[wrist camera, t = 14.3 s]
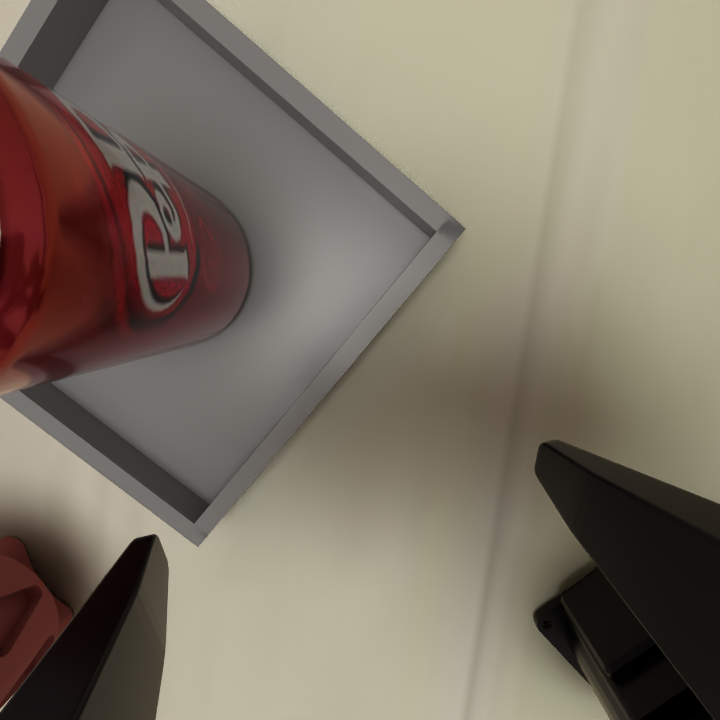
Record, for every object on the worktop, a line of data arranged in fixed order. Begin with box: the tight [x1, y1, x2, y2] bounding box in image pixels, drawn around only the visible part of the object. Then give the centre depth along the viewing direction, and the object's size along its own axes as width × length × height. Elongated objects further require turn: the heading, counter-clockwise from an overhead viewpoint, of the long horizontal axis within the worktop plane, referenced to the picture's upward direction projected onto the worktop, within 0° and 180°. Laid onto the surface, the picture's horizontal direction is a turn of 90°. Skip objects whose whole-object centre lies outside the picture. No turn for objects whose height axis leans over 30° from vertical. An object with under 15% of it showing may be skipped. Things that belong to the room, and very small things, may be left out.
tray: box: [0, 0, 466, 547], centre depth 18 cm, size 18×18×2 cm
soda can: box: [0, 55, 249, 395], centre depth 12 cm, size 7×7×12 cm
